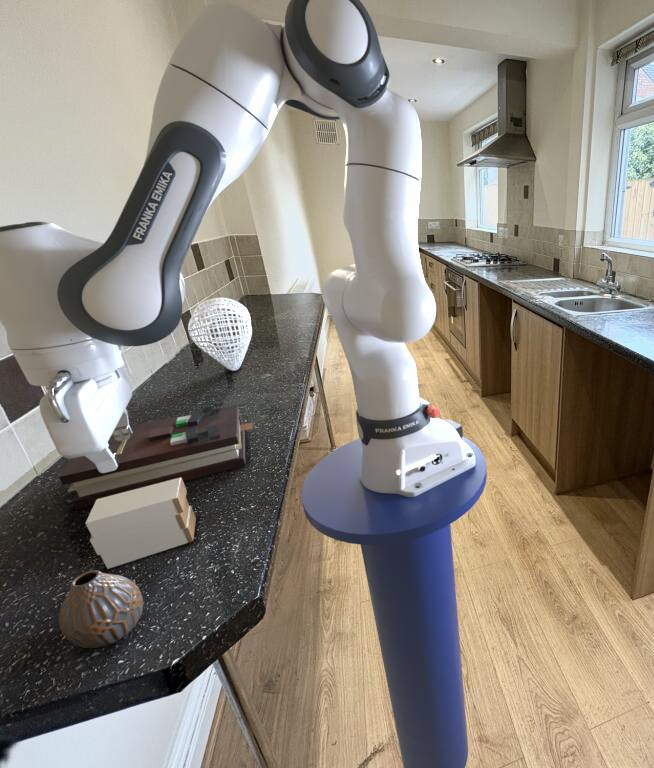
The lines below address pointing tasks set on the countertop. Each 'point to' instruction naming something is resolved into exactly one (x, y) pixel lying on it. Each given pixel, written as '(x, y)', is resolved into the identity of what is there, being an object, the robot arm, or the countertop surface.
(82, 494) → the decorative book
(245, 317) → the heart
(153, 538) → the beige rectangular block
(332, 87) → the robot arm
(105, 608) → the vase
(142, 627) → the countertop surface
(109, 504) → the cream block
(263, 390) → the countertop surface
